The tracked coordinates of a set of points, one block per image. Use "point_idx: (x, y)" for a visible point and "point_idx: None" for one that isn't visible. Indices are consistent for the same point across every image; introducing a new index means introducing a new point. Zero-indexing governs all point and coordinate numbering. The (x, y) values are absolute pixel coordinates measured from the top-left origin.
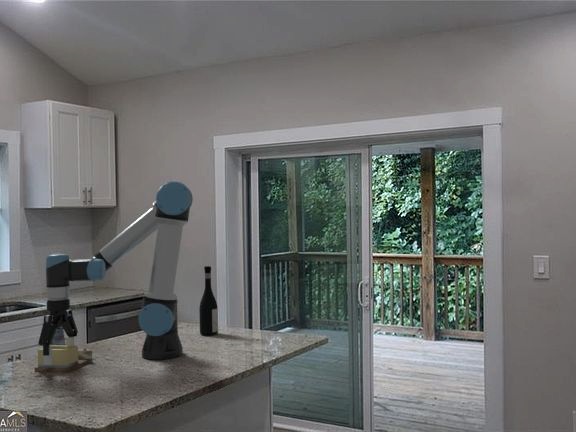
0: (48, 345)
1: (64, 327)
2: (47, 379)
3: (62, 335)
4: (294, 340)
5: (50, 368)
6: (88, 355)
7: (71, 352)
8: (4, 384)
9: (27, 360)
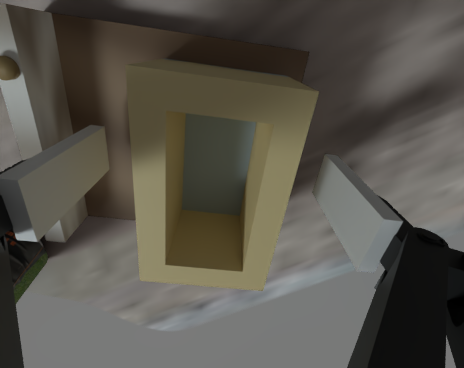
0: (430, 231)
1: (12, 335)
2: (424, 110)
3: None
4: None
5: None
6: (38, 28)
7: (242, 77)
8: None
9: (109, 304)
